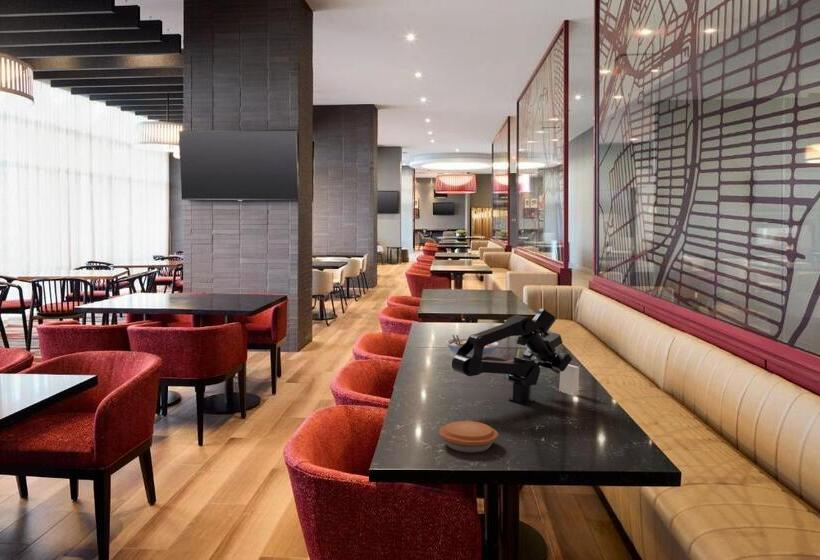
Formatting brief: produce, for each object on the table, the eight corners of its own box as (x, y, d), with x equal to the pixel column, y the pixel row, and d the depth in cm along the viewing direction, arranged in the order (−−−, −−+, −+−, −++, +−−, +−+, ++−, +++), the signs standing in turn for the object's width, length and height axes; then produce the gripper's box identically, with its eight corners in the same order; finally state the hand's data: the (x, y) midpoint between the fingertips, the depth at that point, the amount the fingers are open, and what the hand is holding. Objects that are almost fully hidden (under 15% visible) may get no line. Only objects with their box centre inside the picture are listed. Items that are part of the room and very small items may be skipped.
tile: (573, 396, 212) (575, 367, 211) (559, 391, 218) (560, 363, 217) (578, 395, 213) (580, 367, 212) (563, 390, 219) (565, 362, 218)
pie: (492, 435, 170) (492, 418, 169) (502, 456, 154) (503, 437, 154) (436, 434, 169) (437, 417, 169) (441, 455, 154) (441, 436, 153)
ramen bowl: (501, 366, 256) (502, 346, 255) (446, 364, 256) (447, 345, 255) (494, 353, 280) (495, 336, 280) (444, 352, 281) (445, 334, 280)
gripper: (569, 330, 200) (591, 360, 206) (530, 321, 216) (552, 350, 222) (550, 356, 196) (573, 385, 203) (512, 345, 212) (534, 373, 219)
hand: (558, 372), depth 212 cm, fingers closed
